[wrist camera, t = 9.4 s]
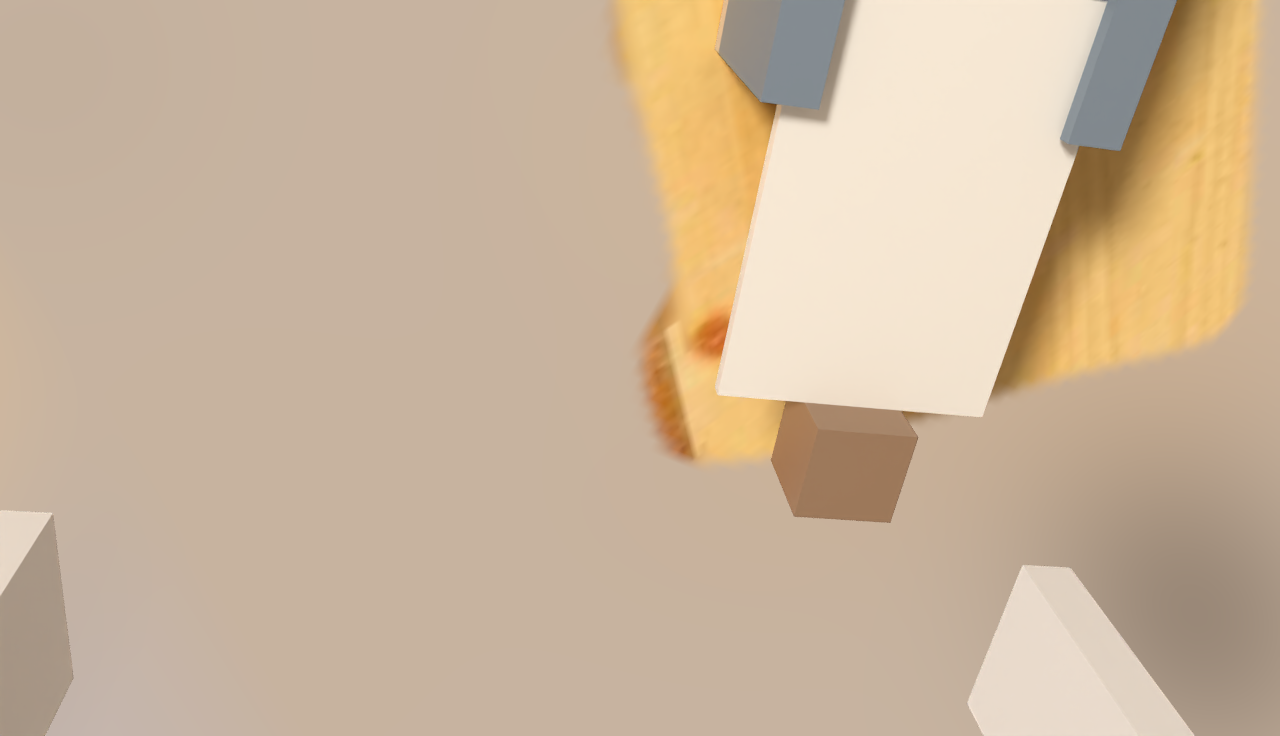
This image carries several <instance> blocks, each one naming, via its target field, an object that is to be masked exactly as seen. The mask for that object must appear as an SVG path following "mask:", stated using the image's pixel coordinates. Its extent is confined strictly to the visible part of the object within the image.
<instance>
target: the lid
mask: <svg viewBox="0 0 1280 736" xmlns="http://www.w3.org/2000/svg"><path fill="white" fill-rule="evenodd" d="M1107 2H1108V1H1102V0H845V3H844V7H843V11H842V15H841V20H840V24H839V28H838V32H837V36H836V41H835V45H834V49H833V53H832V57H831V61H830V66H829V70H828V74H827V78H826V82H825V87H824V91H823V95H822V99H821V103H820V108H819V110H816V109H809V108H802V107H794V106H787V105H780V104H777V107H776V112H775V117H774V121H773V126H772V130H771V135H770V139H769V144H768V148H767V153H766V157H765V162H764V167H763V171H762V176H761V180H760V185H759V189H758V194H757V198H756V203H755V208H754V212H753V217H752V221H751V226H750V230H749V235H748V239H747V244H746V248H745V253H744V258H743V262H742V267H741V271H740V276H739V280H738V285H737V289H736V294H735V299H734V303H733V308H732V312H731V317H730V321H729V326H728V330H727V335H726V339H725V344H724V349H723V353H722V358H721V362H720V367H719V371H718V376H717V380H716V385H715V389H716V392H717V394H718V395H723V396H735V397H747V398H758V399H770V400H782V401H786V404H785V408H784V412H783V416H782V419H781V423H780V427H779V431H778V435H777V439H776V443H775V447H774V451H773V454H772V458H771V462H772V464H773V466H774V469H775V471H776V474H777V476H778V478H779V481H780V483H781V486H782V488H783V491H784V493H785V496H786V498H787V501H788V503H789V505H790V508H791V510H792V513H793V515H794V516H795V517H811V518H825V519H841V520H856V521H873V522H887V523H888V522H889V523H890V522H891V519H892V515H893V513H894V510H895V506H896V503H897V500H898V497H899V494H900V491H901V488H902V485H903V482H904V479H905V476H906V473H907V470H908V467H909V464H910V460H911V458H912V455H913V452H914V448H915V446H916V443H917V440H918V436H917V435H916V433H915V432H914V430H913V428H912V427H911V425H910V424H909V422H908V421H907V419H906V418H905V416H904V415H903V413H902V412H901V411H911V412H923V413H935V414H946V415H958V416H970V417H983V414H984V411H985V408H986V406H987V403H988V400H989V397H990V394H991V392H992V389H993V386H994V383H995V380H996V378H997V375H998V372H999V369H1000V366H1001V364H1002V361H1003V358H1004V355H1005V353H1006V350H1007V347H1008V344H1009V341H1010V339H1011V336H1012V333H1013V330H1014V327H1015V325H1016V322H1017V319H1018V316H1019V313H1020V311H1021V308H1022V305H1023V302H1024V299H1025V297H1026V294H1027V291H1028V288H1029V285H1030V283H1031V280H1032V277H1033V274H1034V271H1035V269H1036V266H1037V263H1038V260H1039V257H1040V255H1041V252H1042V249H1043V246H1044V244H1045V241H1046V238H1047V235H1048V232H1049V230H1050V227H1051V224H1052V221H1053V218H1054V216H1055V213H1056V210H1057V207H1058V204H1059V202H1060V199H1061V196H1062V193H1063V190H1064V188H1065V185H1066V182H1067V179H1068V176H1069V174H1070V171H1071V168H1072V165H1073V162H1074V160H1075V157H1076V154H1077V151H1078V149H1079V145H1072V144H1067V143H1065V142H1064V141H1062V140H1060V137H1061V134H1062V131H1063V128H1064V125H1065V122H1066V119H1067V116H1068V114H1069V111H1070V108H1071V105H1072V102H1073V99H1074V96H1075V93H1076V91H1077V88H1078V85H1079V82H1080V79H1081V76H1082V73H1083V70H1084V68H1085V65H1086V62H1087V59H1088V56H1089V53H1090V50H1091V48H1092V45H1093V42H1094V39H1095V36H1096V33H1097V30H1098V27H1099V25H1100V22H1101V19H1102V16H1103V13H1104V10H1105V7H1106V4H1107Z"/></svg>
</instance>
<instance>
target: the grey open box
mask: <svg viewBox="0 0 1280 736" xmlns="http://www.w3.org/2000/svg"><path fill="white" fill-rule="evenodd" d="M1102 1H1108V2H1107V4H1106V7H1105V10H1104V13H1103V16H1102V19H1101V22H1100V25H1099V27H1098V30H1097V33H1096V36H1095V39H1094V42H1093V45H1092V48H1091V50H1090V53H1089V56H1088V59H1087V62H1086V65H1085V68H1084V70H1083V73H1082V76H1081V79H1080V82H1079V85H1078V88H1077V91H1076V93H1075V96H1074V99H1073V102H1072V105H1071V108H1070V111H1069V114H1068V116H1067V119H1066V122H1065V125H1064V128H1063V131H1062V134H1061V137H1060V140H1062V141H1064V142H1065V143H1067V144H1072V145H1079V146H1086V147H1094V148H1101V149H1108V150H1116V151H1120V150H1121V147H1122V145H1123V142H1124V139H1125V137H1126V134H1127V132H1128V129H1129V126H1130V124H1131V121H1132V118H1133V116H1134V113H1135V110H1136V108H1137V105H1138V102H1139V100H1140V97H1141V94H1142V92H1143V89H1144V86H1145V84H1146V81H1147V78H1148V76H1149V73H1150V70H1151V68H1152V65H1153V62H1154V60H1155V57H1156V55H1157V52H1158V49H1159V47H1160V44H1161V41H1162V39H1163V36H1164V33H1165V31H1166V28H1167V25H1168V23H1169V20H1170V17H1171V15H1172V12H1173V9H1174V7H1175V4H1176V1H1177V0H1102ZM844 3H845V0H724V2H723V8H722V13H721V18H720V24H719V29H718V34H717V40H716V45H715V50H716V51H717V52H718V53H719V55H720V56H721V57H722V58H723V59H724V60H725V62H726V63H727V64H728V65H729V66H730V67H731V68H732V70H733V71H734V72H735V73H736V74H737V75H738V77H739V78H740V79H741V80H742V81H743V82H744V83H745V85H746V86H747V87H748V88H749V89H750V90H751V91H752V93H753V94H754V95H755V96H756V97H757V98H758V100H759V101H760V102H765V103H773V104H780V105H787V106H794V107H802V108H809V109H816V110H819V108H820V103H821V99H822V95H823V91H824V87H825V82H826V78H827V74H828V70H829V66H830V61H831V57H832V53H833V49H834V45H835V41H836V36H837V32H838V28H839V24H840V20H841V15H842V11H843V7H844Z"/></svg>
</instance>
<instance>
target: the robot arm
mask: <svg viewBox="0 0 1280 736" xmlns="http://www.w3.org/2000/svg"><path fill="white" fill-rule="evenodd" d="M72 680H73V670H72V661H71V653H70V645H69V637H68V629H67V622H66V614H65V606H64V598H63V590H62V582H61V574H60V566H59V559H58V550H57V543H56V534H55V526H54V518H53V513H42V512H22V511H4V510H3V511H2V510H0V736H45V735H46V733H47V730H48V729H49V727H50V725H51V723H52V721H53V719H54V717H55V715H56V713H57V711H58V709H59V706H60V704H61V702H62V700H63V698H64V696H65V694H66V692H67V690H68V688H69V686H70V684H71V682H72ZM967 705H968V707H969V708H970V710H971V712H972V714H973V716H974V718H975V720H976V722H977V724H978V726H979V728H980V730H981V732H982V734H983V736H1195V735H1194V734H1193V733H1192V731H1191V730H1190V729H1189V727H1188V726H1187V725H1186V723H1185V722H1184V721H1183V719H1182V718H1181V716H1180V715H1179V714H1178V712H1177V711H1176V710H1175V709H1174V707H1173V706H1172V704H1171V703H1170V702H1169V700H1168V699H1167V698H1166V696H1165V695H1164V693H1163V692H1162V691H1161V689H1160V688H1159V687H1158V685H1157V684H1156V683H1155V682H1154V680H1153V679H1152V677H1151V676H1150V675H1149V673H1148V672H1147V671H1146V669H1145V668H1144V666H1143V665H1142V664H1141V663H1140V661H1139V660H1138V658H1137V657H1136V656H1135V654H1134V653H1133V652H1132V650H1131V649H1130V648H1129V646H1128V645H1127V644H1126V642H1125V641H1124V640H1123V638H1122V637H1121V635H1120V634H1119V633H1118V632H1117V630H1116V629H1115V627H1114V626H1113V625H1112V623H1111V622H1110V621H1109V619H1108V618H1107V617H1106V615H1105V614H1104V613H1103V611H1102V610H1101V608H1100V607H1099V606H1098V604H1097V603H1096V602H1095V600H1094V599H1093V598H1092V596H1091V595H1090V594H1089V592H1088V591H1087V590H1086V588H1085V587H1084V586H1083V584H1082V583H1081V582H1080V580H1079V579H1078V578H1077V576H1076V575H1075V573H1074V572H1073V571H1072V570H1071V568H1067V567H1048V566H1028V565H1023V566H1022V568H1021V570H1020V573H1019V575H1018V578H1017V580H1016V583H1015V585H1014V588H1013V590H1012V593H1011V595H1010V598H1009V600H1008V603H1007V605H1006V607H1005V610H1004V612H1003V615H1002V618H1001V620H1000V622H999V625H998V628H997V630H996V632H995V635H994V637H993V640H992V642H991V645H990V647H989V650H988V652H987V655H986V657H985V660H984V662H983V665H982V667H981V670H980V672H979V675H978V677H977V680H976V682H975V685H974V687H973V690H972V692H971V694H970V697H969V700H968V702H967Z"/></svg>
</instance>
